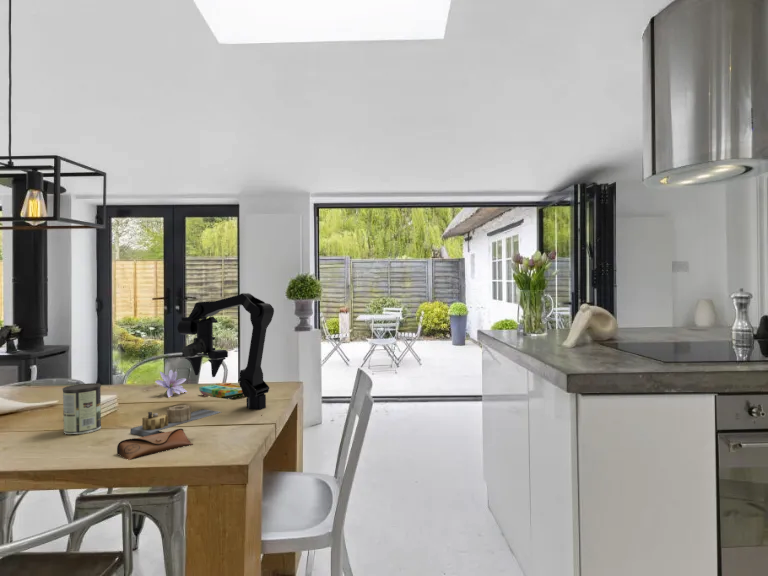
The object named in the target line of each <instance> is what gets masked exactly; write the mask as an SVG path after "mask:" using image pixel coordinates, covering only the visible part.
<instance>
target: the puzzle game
mask: <svg viewBox="0 0 768 576" xmlns="http://www.w3.org/2000/svg"><path fill="white" fill-rule="evenodd" d="M198 390H199V392H200V393H201V394H202V395H203V396H204V395H206V396H205V397H208V396H210V397H209V398H217V399H225V400H228V398H230V399H233V398H232V397H235V398H238V397H237V396H240V397H243V396H244V395H243V392H242V389H241V387H240V385H237V384H234V383H232V382H230V383H229V382H221V383H213V384H209V385H204V386H199V389H198Z"/></svg>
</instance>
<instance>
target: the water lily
mask: <svg viewBox="0 0 768 576" xmlns="http://www.w3.org/2000/svg"><path fill="white" fill-rule="evenodd" d="M159 374H160V376H161V377H160V378H162V380H160V379H158V380H155V383H156V384H157V385H158V386H160V387H163V388H165V389H166V391H165V392H164V394H165V393H166V395H167V397H168V398H169V397H170V396H172V397H173V395H174V393H175V394H178V395H181V393H183V394H185V393H184V392H188V391H187V390H186V389H185V388H184V386H183V385H181V384H183V383H185V381H186V380H187V378H185V377H184V378H183V377H182V378H179V379H177V377H178V372H177V370H175V371H173V369H170V370H169V371H168V374H166V373H164V372H162V371H159Z"/></svg>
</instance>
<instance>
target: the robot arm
mask: <svg viewBox="0 0 768 576" xmlns="http://www.w3.org/2000/svg"><path fill="white" fill-rule="evenodd" d="M239 306H242V307H243V308H244V310H245V311H247V312H248V313H249V314H250V315H249V317H250V318H249V319H250V322H251V325H252V331H251V337H250V344H249V350H248V357H247V364H246V367H245V368H244V369H240V370H239V378H238V381H237V382H238V383H239V385H238V386H240V387H241V389H242V392H243V396H244V398H246V401H245V402H246V408H247V409H248V410H250V411H252V410H253V411H257V410H259V411H260V410H263V409H266V408H267V399H266V398H267V395H266V394H267V393H269V391H270V386H269V385H268V384H267V382H266V381H265V380H264V372H263V369H262V360H263V355H264V354H263V353H264V347H265V341H266V337H267V336H266V335H267V329H268V327H269V325H270V324H271V322H272V320H273V317H274V313H275V309H274V307H273V306H272V304H270V303H267V302H265V301H263V300H261V299H259V298H257V297H255V296H254V295H252V294H251V293H249V292H247V293H246V292H243V293H240V294H237V295H233V296H229V297H225V298H222V299H219V300H214V301H212V300H211V301H197V302H196V303H194V306H193V308H192V311H191V312H190V314H189V315H188V316H181V320H180V321H178V324H177V332H178V333H179V334H180V335H190V336H191V335H192V336H193V335H196V337H193V342H191V343H189V344H188V345H185V346H183V347H182V352H181V353H182V358H183V357H184V359H185V360H187V361H189V363H190V365H191V368H192V370H193V372H194V375H195V376H199V373H200V369H201V364H202V360H203V359H202V358H203V356H204V357H208V360H207V361H208V362H209V363H210V366H211V367H210V368H211V369H210V370H211V378H216V376H217V373H218V371H219V370H220V367H221V366H222V363H223V362H224V360H226V358H228V357H229V352H228V350H227V349H216V347H214V341H215V340H216V336H214V334H213V333H214V331H213V330H214V329H213V327H214V325H213V324H214V323H215V324H216V323H218V322H219V321H218V319H216V318H215V317H214V316H215V315H217V314H218V313H219V312H221V311H224V310H229V309H232V308H236V307H239Z"/></svg>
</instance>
